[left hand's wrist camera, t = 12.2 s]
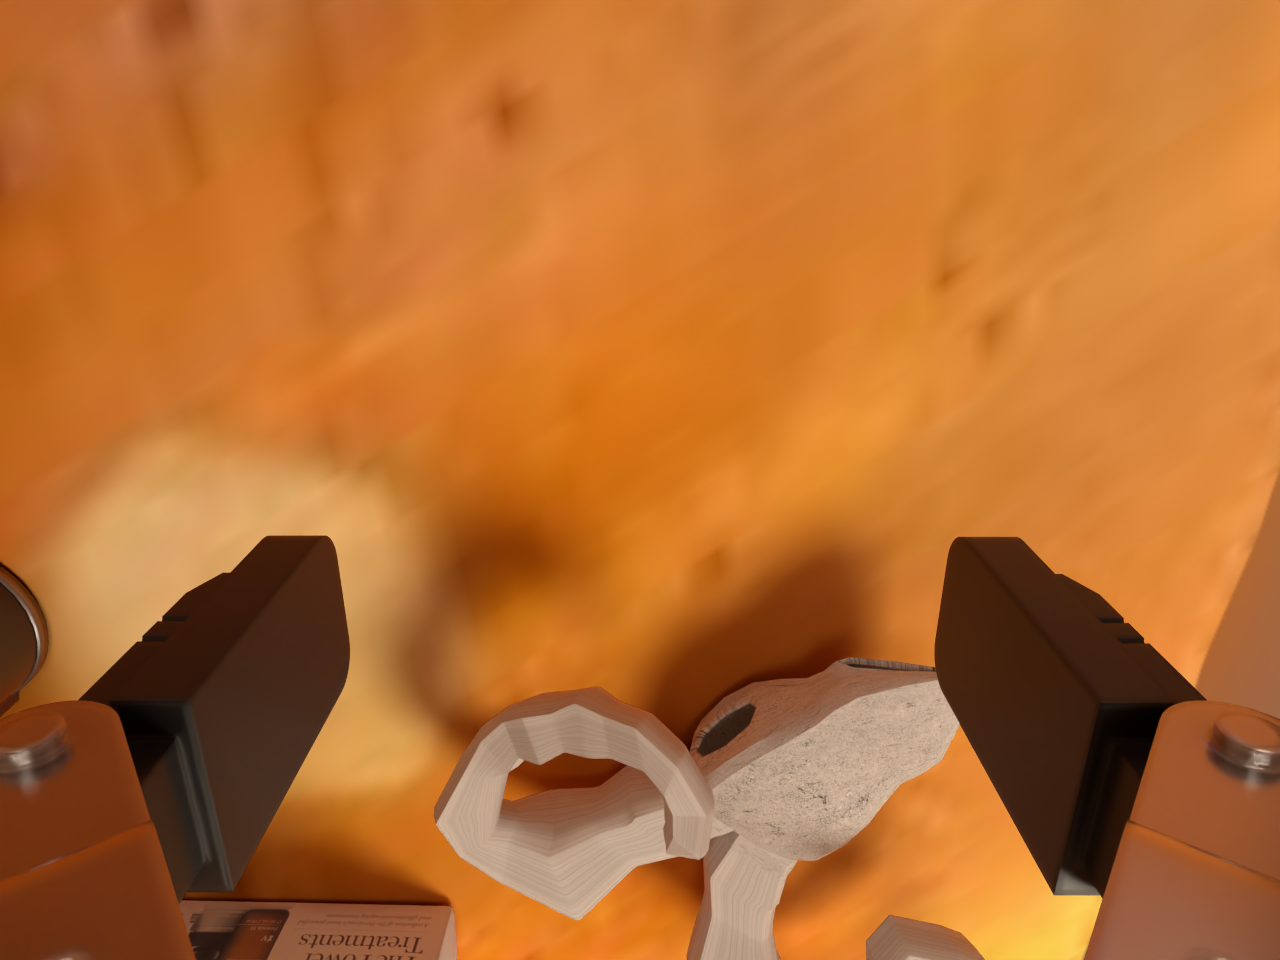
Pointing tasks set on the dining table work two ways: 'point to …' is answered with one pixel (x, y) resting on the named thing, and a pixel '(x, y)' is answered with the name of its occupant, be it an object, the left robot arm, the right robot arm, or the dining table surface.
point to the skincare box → (318, 931)
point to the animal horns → (706, 797)
